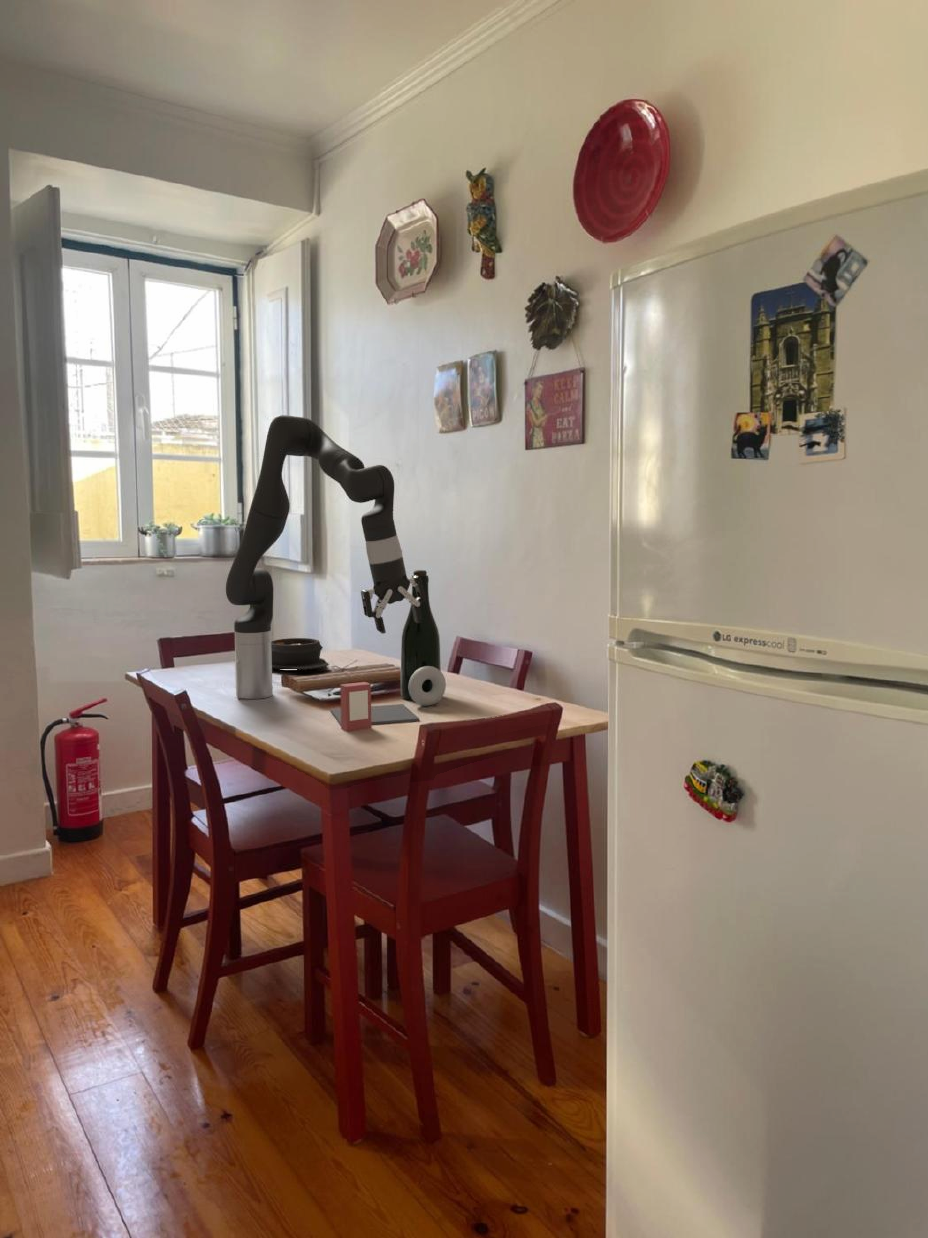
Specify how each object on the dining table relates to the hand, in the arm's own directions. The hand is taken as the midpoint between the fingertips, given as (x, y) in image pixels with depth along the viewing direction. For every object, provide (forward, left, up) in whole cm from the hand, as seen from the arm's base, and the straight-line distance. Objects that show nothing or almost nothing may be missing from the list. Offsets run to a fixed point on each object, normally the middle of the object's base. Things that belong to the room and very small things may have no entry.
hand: (400, 627), depth 201 cm
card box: (-11, -1, -22) cm, 25 cm away
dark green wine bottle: (+11, +26, -22) cm, 36 cm away
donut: (+10, +16, -22) cm, 30 cm away
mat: (-5, +9, -22) cm, 24 cm away
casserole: (-15, +79, -22) cm, 84 cm away
